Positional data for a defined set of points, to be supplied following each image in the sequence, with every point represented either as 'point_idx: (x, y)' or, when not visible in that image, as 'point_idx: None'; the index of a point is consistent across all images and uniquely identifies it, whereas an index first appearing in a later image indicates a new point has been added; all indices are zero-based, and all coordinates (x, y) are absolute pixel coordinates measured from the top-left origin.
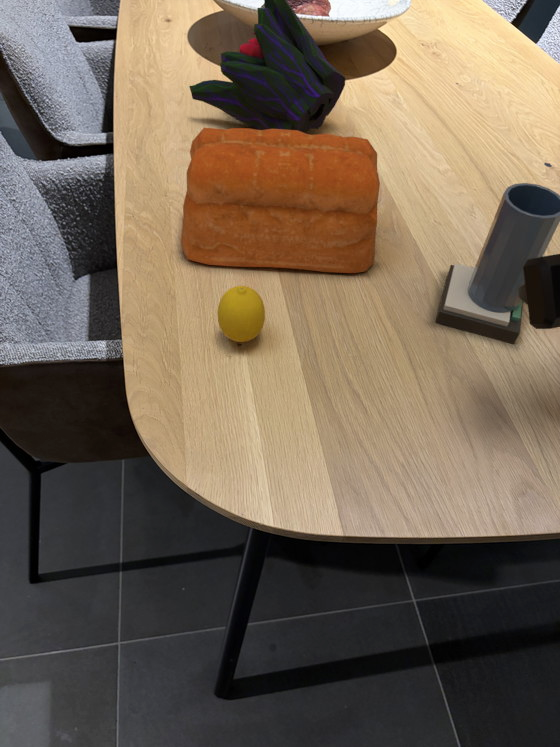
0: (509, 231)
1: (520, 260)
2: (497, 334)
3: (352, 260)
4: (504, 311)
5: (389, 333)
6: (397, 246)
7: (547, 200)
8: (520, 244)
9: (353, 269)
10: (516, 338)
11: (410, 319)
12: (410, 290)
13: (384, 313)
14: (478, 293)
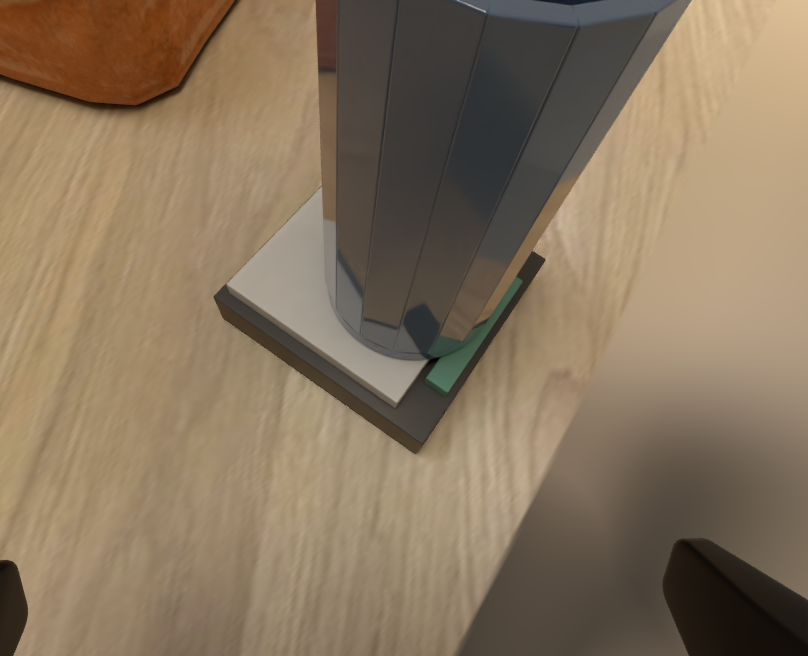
0: (334, 67)
1: (404, 231)
2: (369, 415)
3: (55, 62)
4: (402, 357)
5: (56, 322)
6: (285, 56)
7: None
8: (381, 158)
9: (82, 91)
10: (418, 448)
11: (157, 287)
12: (226, 192)
13: (94, 249)
14: (328, 279)
